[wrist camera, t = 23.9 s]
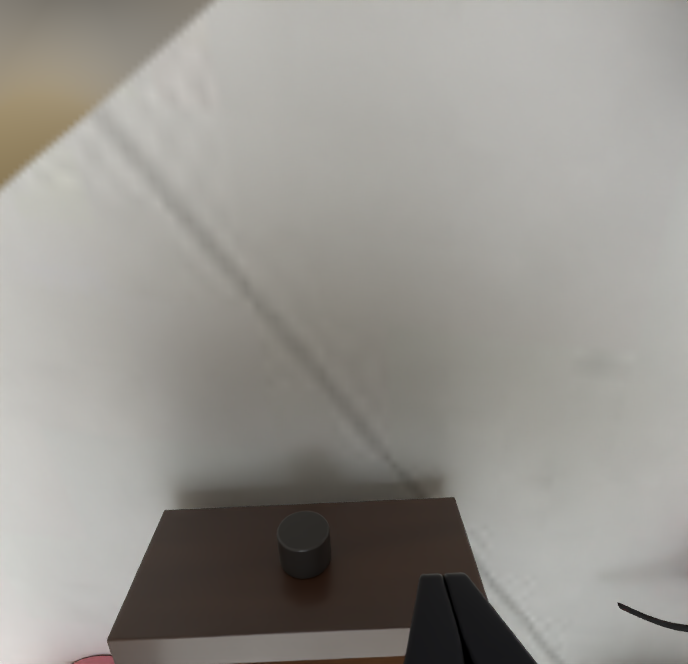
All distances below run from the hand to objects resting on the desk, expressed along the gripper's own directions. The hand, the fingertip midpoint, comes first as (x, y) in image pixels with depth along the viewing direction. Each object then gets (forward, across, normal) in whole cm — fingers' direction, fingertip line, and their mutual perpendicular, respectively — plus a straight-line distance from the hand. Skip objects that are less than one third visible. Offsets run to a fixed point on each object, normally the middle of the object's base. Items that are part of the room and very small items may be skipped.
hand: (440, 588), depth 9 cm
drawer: (+7, +3, +10) cm, 12 cm away
